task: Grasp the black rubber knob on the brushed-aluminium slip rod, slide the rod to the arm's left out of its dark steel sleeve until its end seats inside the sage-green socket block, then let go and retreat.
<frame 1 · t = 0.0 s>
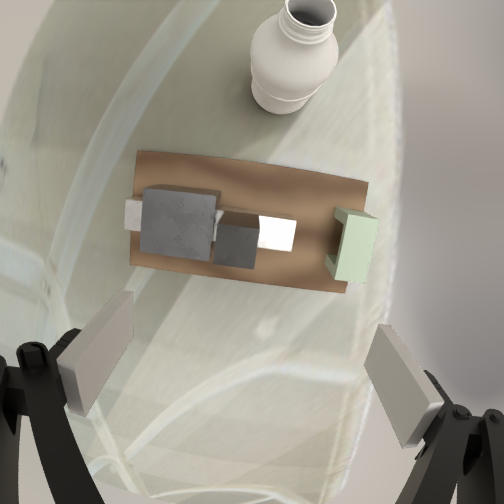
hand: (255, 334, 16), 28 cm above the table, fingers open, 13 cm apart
base board: (244, 221, 43), on the table
socket block: (342, 236, 43), resting on base board
water bottle: (279, 91, 38), on the table
slip rod: (203, 228, 36), point 7 cm above the table, slide at 0.0 cm
sleeve: (187, 214, 42), resting on base board
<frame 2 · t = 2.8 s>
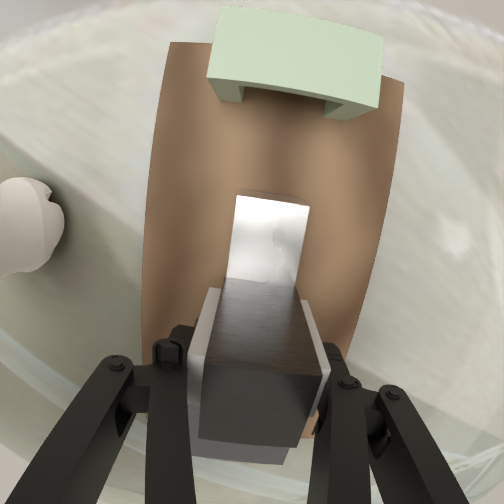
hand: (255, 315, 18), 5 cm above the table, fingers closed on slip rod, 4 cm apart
base board: (256, 275, 23), on the table
socket block: (285, 83, 19), resting on base board
water bottle: (40, 217, 22), on the table
slip rod: (244, 389, 17), point 7 cm above the table, slide at 0.0 cm, touching gripper
sleeve: (241, 363, 25), resting on base board
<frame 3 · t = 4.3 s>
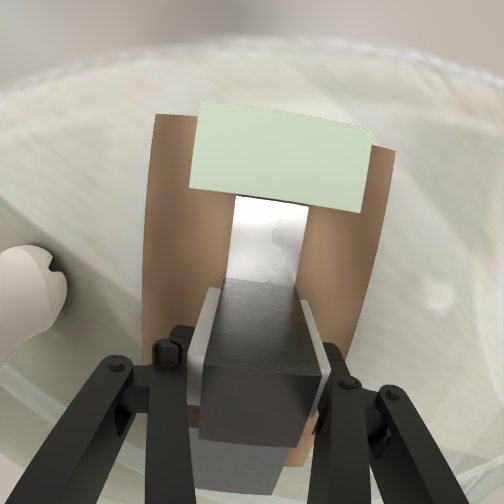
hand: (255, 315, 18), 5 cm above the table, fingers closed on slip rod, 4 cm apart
base board: (246, 337, 24), on the table
socket block: (273, 157, 20), resting on base board
water bottle: (44, 277, 23), on the table
slip rod: (245, 389, 17), point 7 cm above the table, slide at 5.2 cm, touching gripper
sleeve: (235, 407, 26), resting on base board
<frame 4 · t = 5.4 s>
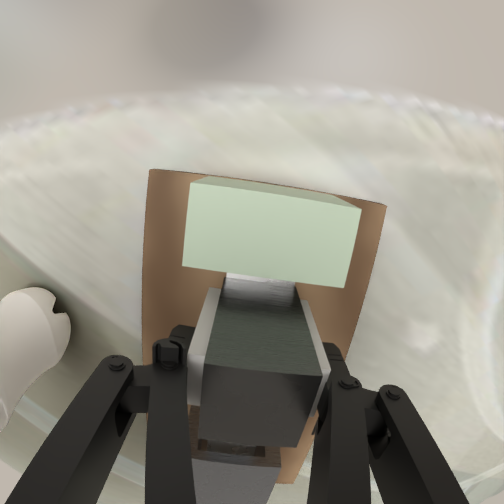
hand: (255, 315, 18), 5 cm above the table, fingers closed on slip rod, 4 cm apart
base board: (239, 374, 25), on the table
socket block: (266, 212, 22), resting on base board
water bottle: (48, 314, 24), on the table
slip rod: (244, 389, 17), point 7 cm above the table, slide at 8.9 cm, touching gripper
sleeve: (230, 432, 27), resting on base board
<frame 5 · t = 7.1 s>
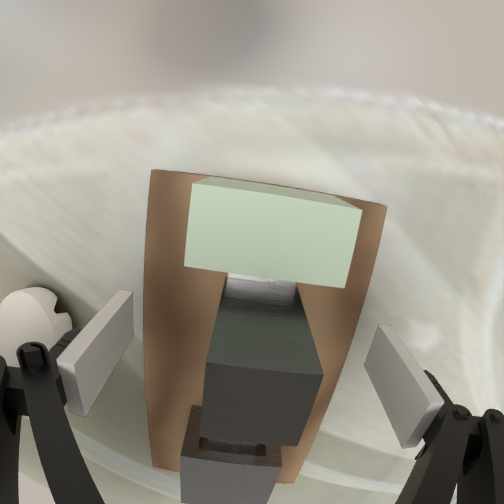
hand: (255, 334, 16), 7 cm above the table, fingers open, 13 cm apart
base board: (240, 374, 25), on the table
socket block: (267, 213, 22), resting on base board
water bottle: (49, 314, 24), on the table
slip rod: (245, 388, 17), point 7 cm above the table, slide at 9.0 cm
sleeve: (230, 432, 28), resting on base board
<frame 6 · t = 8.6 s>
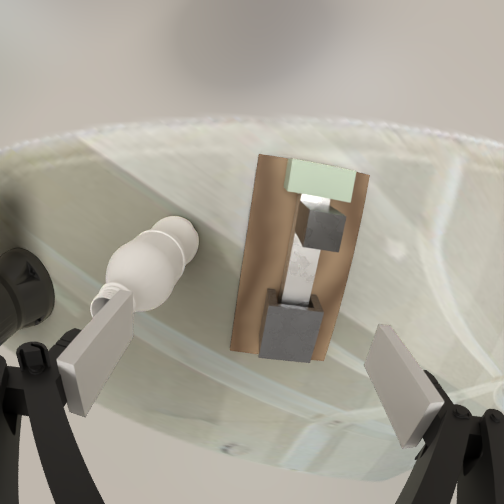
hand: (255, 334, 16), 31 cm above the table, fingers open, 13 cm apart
base board: (296, 267, 48), on the table
socket block: (312, 177, 44), resting on base board
water bottle: (178, 236, 47), on the table
slip rod: (309, 252, 40), point 7 cm above the table, slide at 9.0 cm
sleeve: (286, 313, 50), resting on base board
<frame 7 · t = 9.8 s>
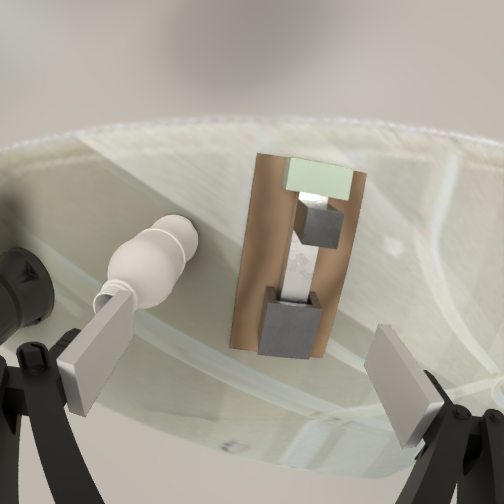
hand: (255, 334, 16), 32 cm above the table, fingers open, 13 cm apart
base board: (294, 265, 48), on the table
socket block: (310, 176, 45), resting on base board
water bottle: (177, 235, 47), on the table
slip rod: (307, 249, 40), point 7 cm above the table, slide at 9.0 cm
sleeve: (285, 310, 51), resting on base board
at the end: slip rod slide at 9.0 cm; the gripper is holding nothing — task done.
